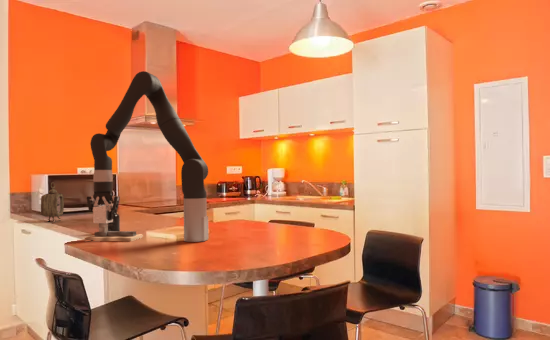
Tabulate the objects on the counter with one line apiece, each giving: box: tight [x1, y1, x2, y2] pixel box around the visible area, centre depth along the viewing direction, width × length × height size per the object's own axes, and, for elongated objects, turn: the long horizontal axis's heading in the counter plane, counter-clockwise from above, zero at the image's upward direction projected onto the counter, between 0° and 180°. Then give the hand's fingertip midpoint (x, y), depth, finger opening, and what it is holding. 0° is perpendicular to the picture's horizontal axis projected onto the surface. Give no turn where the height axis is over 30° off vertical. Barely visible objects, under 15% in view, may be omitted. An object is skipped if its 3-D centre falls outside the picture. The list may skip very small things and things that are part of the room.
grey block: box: [92, 205, 113, 224], centre depth 168 cm, size 6×6×7 cm
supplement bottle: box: [108, 209, 121, 231], centre depth 186 cm, size 7×7×12 cm
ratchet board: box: [84, 223, 144, 242], centre depth 167 cm, size 20×11×8 cm, turn 84°
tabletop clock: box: [40, 181, 65, 222], centre depth 249 cm, size 14×9×25 cm, turn 12°
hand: (103, 220), depth 168 cm, fingers closed on grey block, 5 cm apart
